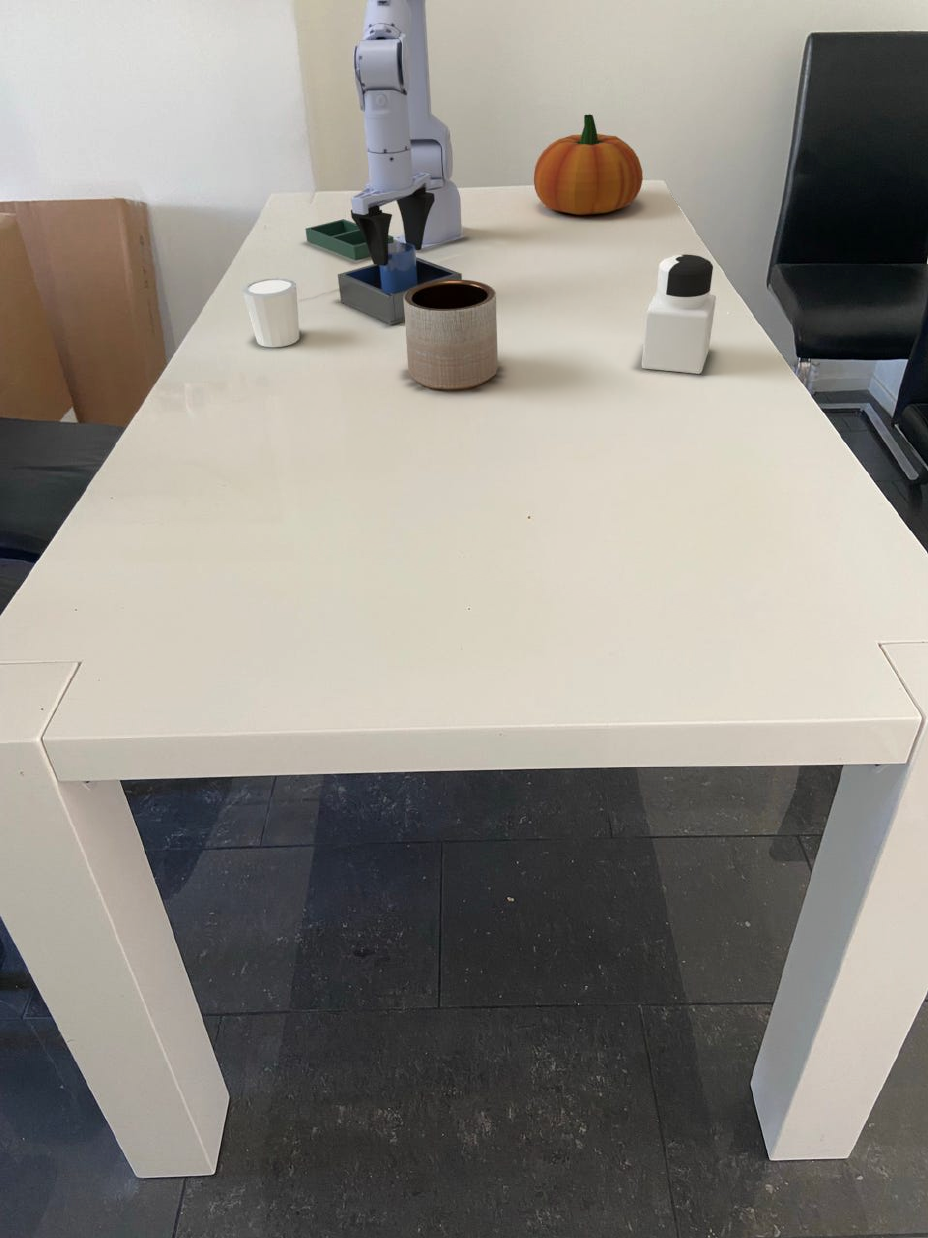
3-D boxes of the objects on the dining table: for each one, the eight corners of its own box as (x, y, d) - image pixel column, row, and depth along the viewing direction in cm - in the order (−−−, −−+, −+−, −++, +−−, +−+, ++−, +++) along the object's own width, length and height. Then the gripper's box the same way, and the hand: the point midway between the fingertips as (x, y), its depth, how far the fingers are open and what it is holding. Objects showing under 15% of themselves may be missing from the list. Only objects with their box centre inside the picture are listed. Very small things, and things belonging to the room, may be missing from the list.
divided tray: (345, 233, 156) (343, 218, 155) (394, 252, 147) (393, 236, 146) (307, 243, 153) (305, 228, 151) (355, 263, 143) (353, 247, 142)
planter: (511, 362, 111) (511, 283, 105) (475, 398, 103) (473, 316, 97) (433, 350, 115) (428, 274, 109) (392, 384, 107) (385, 304, 101)
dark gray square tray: (410, 281, 136) (408, 253, 133) (463, 301, 128) (461, 273, 126) (340, 302, 130) (337, 274, 127) (391, 325, 122) (388, 295, 120)
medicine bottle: (708, 351, 111) (722, 251, 104) (701, 375, 106) (714, 271, 98) (651, 346, 113) (660, 247, 106) (640, 368, 108) (649, 267, 100)
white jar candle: (309, 329, 122) (301, 276, 118) (297, 349, 117) (288, 295, 112) (260, 329, 123) (250, 277, 118) (246, 349, 118) (235, 295, 113)
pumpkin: (627, 190, 171) (634, 101, 162) (650, 218, 156) (658, 121, 147) (527, 196, 171) (527, 107, 161) (540, 225, 156) (541, 128, 146)
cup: (397, 290, 131) (393, 239, 127) (426, 296, 129) (422, 245, 125) (375, 301, 128) (370, 250, 124) (403, 307, 126) (399, 255, 121)
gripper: (399, 134, 123) (407, 238, 131) (328, 157, 114) (341, 266, 122) (440, 139, 119) (446, 245, 128) (371, 162, 110) (381, 275, 119)
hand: (397, 256), depth 125 cm, fingers open, 7 cm apart
